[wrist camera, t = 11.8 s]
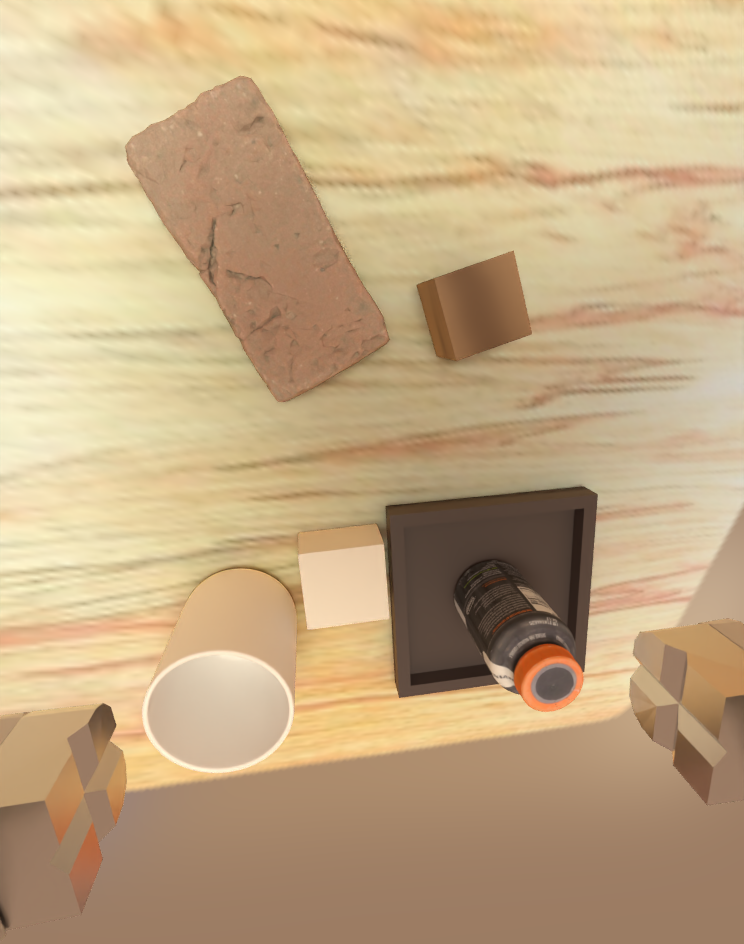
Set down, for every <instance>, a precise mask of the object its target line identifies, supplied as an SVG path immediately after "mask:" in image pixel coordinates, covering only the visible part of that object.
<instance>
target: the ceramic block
mask: <svg viewBox="0 0 744 944" xmlns="http://www.w3.org/2000/svg"><path fill="white" fill-rule="evenodd" d="M298 560H299V568H300V576H301V584H302V592H303V599H304V607H305V615H306V623H307V630H311V629H318V628H326V627H333V626H340V625H348V624H355V623H362V622H369V621H377V620H384V619H389V607H388V593H387V579H386V565H385V551H384V543H383V540H382V537H381V534H380V532H379V529H378V526H377V524H369V525H361V526H352V527H344V528H335V529H326V530H318V531H309V532H301V533H299V535H298Z"/></svg>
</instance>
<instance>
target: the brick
mask: <svg viewBox="0 0 744 944" xmlns="http://www.w3.org/2000/svg"><path fill="white" fill-rule="evenodd" d="M125 148H126V152H127V161H128V164H129V166H130V167H131V169H132V171H133V172H134V174H135V176H136V177H137V178H138V179H139V181H140V183H141V185H142V187H143V189H144V191H145V193H146V195H147V197H148V198H149V199H150V201H151V202H152V204H153V206H154V208H155V210H156V211H157V213H158V215H159V216H160V218H161V220H162V222H163V223H164V225H165V226H166V228H167V229H168V230H169V232H170V233H171V235H172V236H173V237H174V239H175V240H176V241H177V243H178V244H179V245H180V247H181V248H182V250H183V252H184V253H185V255H186V257H187V258H188V259H189V260H190V261H191V263H192V264H193V265H194V266H195V267H196V268H197V269H198V270H199V271H200V273H199V274H200V277H201V278H202V279H203V281H204V282H205V283H206V285H207V286H208V288H209V289H210V291H211V292H212V294H213V295H214V296H215V297H216V299H217V301H218V304H219V306H220V308H221V309H222V311H223V313H224V315H225V317H226V318H227V320H228V322H229V323H230V325H231V327H232V329H233V331H234V333H235V335H236V337H238V338H239V339H240V341H241V344H242V346H243V349H244V351H245V352H246V354H247V355H248V357H249V358H250V360H251V361H252V363H253V365H254V367H255V368H256V370H257V372H258V373H259V375H260V376H261V378H262V379H263V380H264V382H265V383H266V384H267V387H268V389H269V390H270V392H271V393H272V394H273V396H274V397H275V398H276V400H277V401H278V402H285V401H289V400H291V399H293V398H294V397H296V396H299V395H301V394H303V393H305V392H306V391H308V390H309V389H312V388H314V387H316V386H318V385H319V384H321V383H323V382H324V381H326V380H328V379H329V378H331V377H333V376H334V375H336V374H338V373H339V372H341V371H343V370H345V369H347V368H349V367H350V366H352V365H354V364H356V363H357V362H359V361H360V360H361V359H363V358H364V357H366V356H367V355H369V354H370V353H372V352H374V351H376V350H377V349H379V348H380V347H382V346H384V345H385V344H387V342H388V341H389V336H388V334H387V330H386V326H385V322H384V318H383V316H382V314H381V312H380V310H379V309H378V307H377V305H376V304H375V302H374V301H373V299H372V297H371V296H370V295H369V293H368V292H367V290H366V289H365V287H364V286H363V284H362V282H361V281H360V279H359V277H358V275H357V273H356V271H355V269H354V268H353V266H352V265H351V263H350V261H349V259H348V258H347V256H346V254H345V252H344V250H343V248H342V246H341V244H340V242H339V240H338V239H337V237H336V235H335V233H334V231H333V229H332V227H331V225H330V223H329V221H328V219H327V217H326V215H325V213H324V211H323V209H322V207H321V204H320V202H319V200H318V198H317V196H316V195H315V193H314V191H313V188H312V187H311V185H310V183H309V181H308V179H307V177H306V175H305V173H304V171H303V169H302V167H301V165H300V163H299V161H298V159H297V157H296V155H295V154H294V152H293V151H292V149H291V147H290V145H289V143H288V141H287V139H286V137H285V135H284V133H283V131H282V129H281V127H280V125H279V123H278V121H277V119H276V117H275V115H274V113H273V111H272V109H271V108H270V107H269V105H268V104H267V103H266V101H265V99H264V97H263V96H262V94H261V92H260V90H259V88H258V87H257V86H256V85H255V83H254V82H253V80H252V79H251V78H248V77H244V76H239V77H237V78H235V79H233V80H231V81H229V82H227V83H225V84H223V85H219V86H215V87H214V89H212V90H209V91H206V92H203V93H201V94H200V95H199V96H198V98H197V99H196V100H195V102H193V103H191V104H189V105H188V106H187V107H186V108H185V109H182V110H179V111H178V112H176V113H175V114H174V115H172V116H171V117H169V118H167V119H166V120H163V121H161V122H158V123H155V124H151V125H150V126H149V127H147V128H146V129H145V130H144V131H142V132H140V133H138V134H137V135H135V136H133V137H132V138H131V139H130V140H129V142H128V143H127V144H126V146H125Z"/></svg>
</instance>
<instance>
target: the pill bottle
mask: <svg viewBox="0 0 744 944" xmlns="http://www.w3.org/2000/svg"><path fill="white" fill-rule="evenodd" d="M454 601H455V606H456V609H457V611H458V613H459V615H460V617H461V618H462V620H463V622H464V624H465V626H466V628H467V629H468V631H469V633H470V635H471V637H472V639H473V641H474V642H475V644H476V646H477V648H478V650H479V651H480V654H481V655H482V657H483V659H484V661H485V663H486V664H487V666H488V668H489V670H490V672H491V673H492V675H493V677H494V678H495V680H496V681H497V682H498V683H499V684H500V685H501V686H502V687H504V688H505V689H507V690H508V691H511V692H513V693H516V694H520V695H521V696H522V698H523V700H524V701H525V702H526V703H527V705H528V706H530V707H531V708H533V709H535V710H538V711H544V712H548V711H555V710H558V709H561V708H563V707H565V706H566V705H568V704H569V703H571V702H572V701H573V700H574V699H575V698H576V697H577V695H578V694H579V693H580V690H581V688H582V685H583V672H582V669H581V667H580V666H579V664H578V663H577V662H576V660H575V657H576V645H575V640H574V637H573V635H572V633H571V631H570V630H569V628H568V627H567V626H566V625H565V624H564V623H563V621H562V620H561V619H560V618H559V617H558V616H557V615H556V613H555V612H554V611H553V610H552V609H551V608H550V606H549V605H548V604H547V603H546V602H545V601H544V600H543V599H542V597H541V596H540V595H539V594H538V593H537V592H536V591H535V589H534V588H533V587H532V586H531V585H530V584H529V583H528V581H527V580H526V579H525V578H524V577H523V576H522V575H521V573H520V572H519V571H518V570H517V569H516V568H515V567H513V566H512V565H510V564H508V563H506V562H503V561H495V560H490V561H485V562H481V563H479V564H477V565H475V566H473V567H471V568H470V569H469V570H467V571H466V572H465V573H464V574H463V576H462V577H461V578H460V580H459V581H458V584H457V586H456V589H455V593H454Z"/></svg>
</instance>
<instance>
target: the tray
mask: <svg viewBox="0 0 744 944" xmlns="http://www.w3.org/2000/svg"><path fill="white" fill-rule="evenodd" d="M597 497H598V495H597V494H596V493H594V492H592V491H591V490H589V489H587V488H585V487H575V488H564V489H554V490H544V491H534V492H524V493H514V494H504V495H494V496H484V497H474V498H464V499H454V500H444V501H434V502H424V503H414V504H404V505H394V506H386V522H387V541H388V559H389V578H390V597H391V615H392V634H393V653H394V671H395V683H396V687H397V691H398V695H399V698H401V697H408V696H415V695H423V694H430V693H437V692H444V691H451V690H458V689H465V688H473V687H480V686H487V685H494V684H499V683H498V682H497V681H496V680H495V678H494V677H493V675H492V673H491V672H490V670H489V668H488V666H487V664H486V663H485V661H484V659H483V657H482V655H481V654H480V651H479V650H478V648H477V646H476V644H475V642H474V641H473V639H472V637H471V635H470V633H469V631H468V629H467V628H466V626H465V624H464V622H463V620H462V618H461V617H460V615H459V613H458V611H457V609H456V606H455V601H454V593H455V589H456V586H457V584H458V581H459V580H460V578H461V577H462V576H463V574H464V573H465V572H466V571H467V570H469V569H470V568H471V567H473V566H475V565H477V564H479V563H481V562H485V561H490V560H495V561H503V562H506V563H508V564H510V565H512V566H513V567H515V568H516V569H517V570H518V571H519V572H520V573H521V575H522V576H523V577H524V578H525V579H526V580H527V581H528V583H529V584H530V585H531V586H532V587H533V588H534V589H535V591H536V592H537V593H538V594H539V595H540V596H541V597H542V599H543V600H544V601H545V602H546V603H547V604H548V605H549V606H550V608H551V609H552V610H553V611H554V612H555V613H556V615H557V616H558V617H559V618H560V619H561V620H562V621H563V623H564V624H565V625H566V626H567V627H568V628H569V630H570V631H571V633H572V635H573V637H574V640H575V645H576V657H575V660H576V662H577V663H578V664H579V666H580V667H581V669H582V672H584V668H585V655H586V642H587V629H588V615H589V602H590V589H591V576H592V563H593V550H594V537H595V523H596V510H597Z"/></svg>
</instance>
